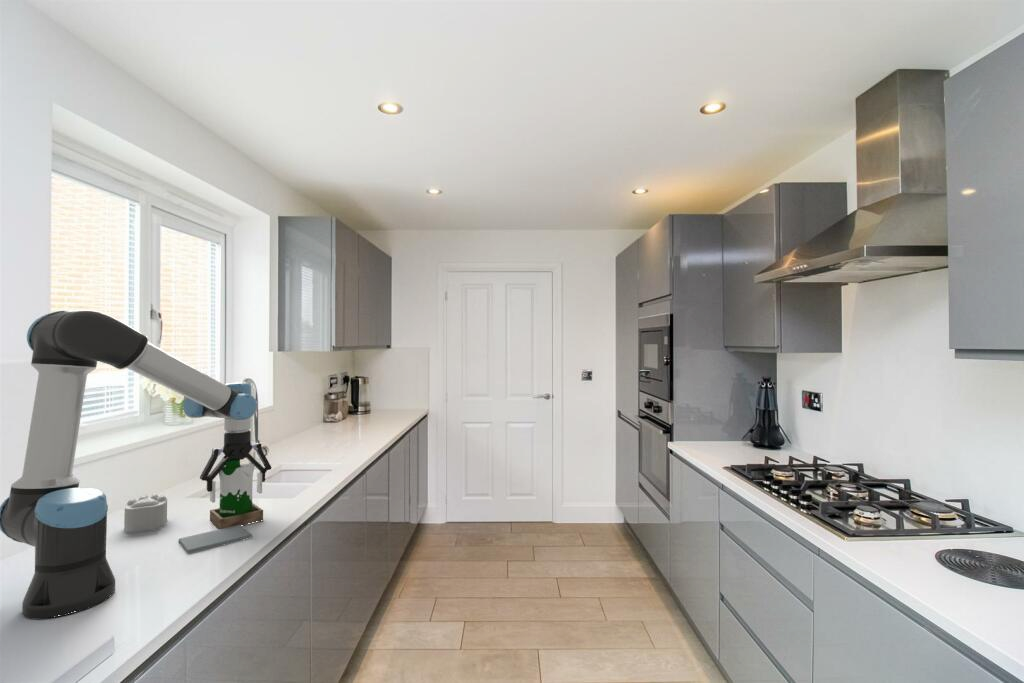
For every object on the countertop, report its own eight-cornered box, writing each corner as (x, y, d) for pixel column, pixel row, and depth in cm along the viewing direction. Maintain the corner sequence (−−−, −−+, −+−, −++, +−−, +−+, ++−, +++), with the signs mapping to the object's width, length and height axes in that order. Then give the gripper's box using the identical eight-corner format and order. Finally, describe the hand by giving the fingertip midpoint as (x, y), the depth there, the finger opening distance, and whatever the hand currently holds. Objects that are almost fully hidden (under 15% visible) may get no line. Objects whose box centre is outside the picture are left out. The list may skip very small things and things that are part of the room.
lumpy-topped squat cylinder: (121, 534, 145) (121, 505, 145) (130, 520, 156) (130, 493, 156) (163, 528, 150) (164, 500, 150) (169, 515, 161) (170, 489, 161)
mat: (187, 553, 131) (187, 550, 131) (178, 542, 139) (178, 538, 139) (252, 537, 143) (252, 534, 143) (240, 527, 150) (240, 524, 150)
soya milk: (213, 525, 152) (214, 461, 152) (233, 515, 161) (233, 455, 161) (240, 526, 151) (240, 462, 151) (257, 516, 160) (258, 456, 160)
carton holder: (220, 530, 148) (220, 519, 148) (209, 520, 156) (209, 509, 156) (263, 521, 156) (263, 510, 156) (250, 512, 165) (250, 501, 165)
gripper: (274, 425, 168) (273, 486, 168) (189, 433, 150) (188, 502, 150) (282, 427, 163) (281, 491, 162) (195, 437, 145) (194, 508, 145)
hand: (236, 496), depth 156 cm, fingers open, 13 cm apart
